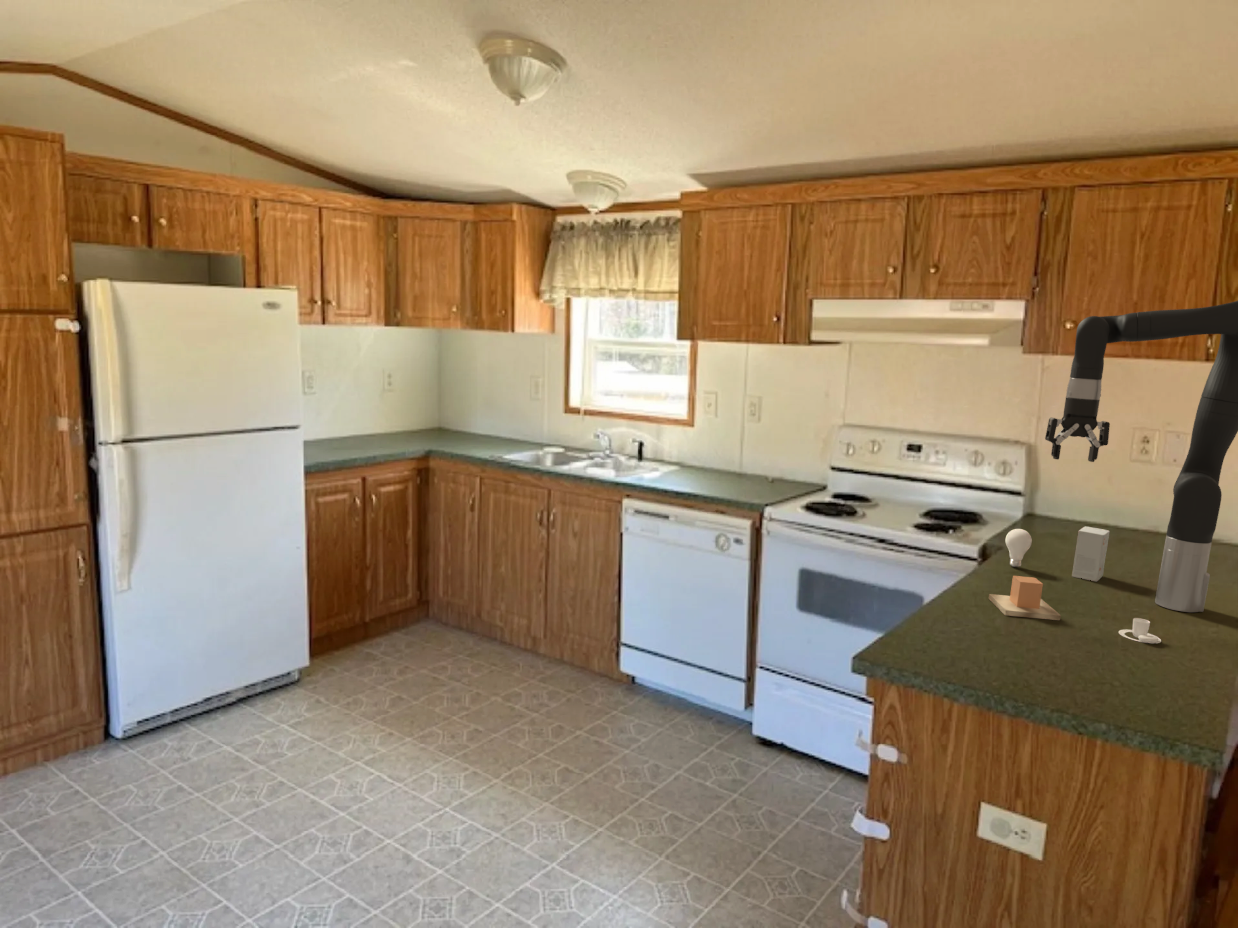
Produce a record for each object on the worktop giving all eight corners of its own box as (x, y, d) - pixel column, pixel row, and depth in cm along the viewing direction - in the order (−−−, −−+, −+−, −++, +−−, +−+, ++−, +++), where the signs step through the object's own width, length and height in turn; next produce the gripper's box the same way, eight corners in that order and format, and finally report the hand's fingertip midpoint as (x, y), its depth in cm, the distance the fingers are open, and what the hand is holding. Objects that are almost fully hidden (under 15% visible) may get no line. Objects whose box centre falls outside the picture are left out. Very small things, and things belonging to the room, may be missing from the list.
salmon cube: (1031, 601, 199) (1035, 577, 198) (1039, 608, 194) (1042, 583, 193) (1009, 599, 199) (1012, 575, 198) (1016, 606, 194) (1020, 581, 193)
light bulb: (1030, 571, 230) (1036, 533, 228) (1005, 569, 231) (1010, 530, 229) (1024, 565, 236) (1029, 527, 234) (999, 562, 237) (1004, 525, 236)
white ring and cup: (1160, 649, 176) (1164, 631, 176) (1117, 640, 181) (1120, 622, 180) (1160, 637, 184) (1163, 620, 183) (1119, 628, 188) (1121, 611, 187)
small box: (1077, 571, 234) (1084, 525, 232) (1103, 576, 230) (1110, 530, 228) (1070, 576, 228) (1078, 530, 225) (1097, 582, 224) (1104, 534, 221)
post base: (1040, 603, 202) (1043, 582, 201) (1060, 620, 190) (1063, 598, 189) (988, 598, 203) (991, 578, 202) (1005, 615, 191) (1008, 593, 190)
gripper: (1106, 397, 213) (1096, 460, 216) (1047, 393, 215) (1038, 456, 217) (1119, 400, 206) (1109, 464, 208) (1059, 396, 207) (1049, 460, 210)
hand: (1073, 460), depth 213 cm, fingers open, 8 cm apart
